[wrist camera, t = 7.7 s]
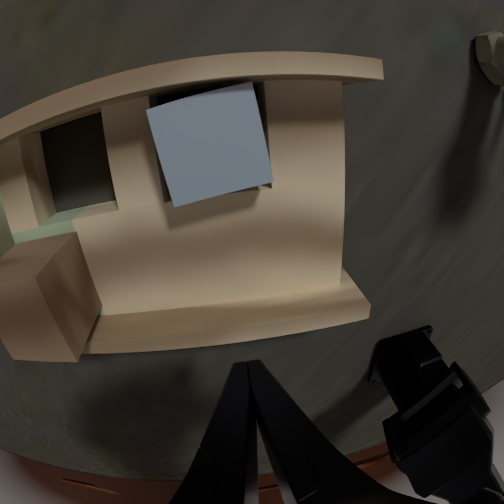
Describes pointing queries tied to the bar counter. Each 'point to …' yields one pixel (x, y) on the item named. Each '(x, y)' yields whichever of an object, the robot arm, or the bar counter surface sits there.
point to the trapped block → (211, 143)
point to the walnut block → (47, 299)
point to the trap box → (201, 206)
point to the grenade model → (491, 56)
